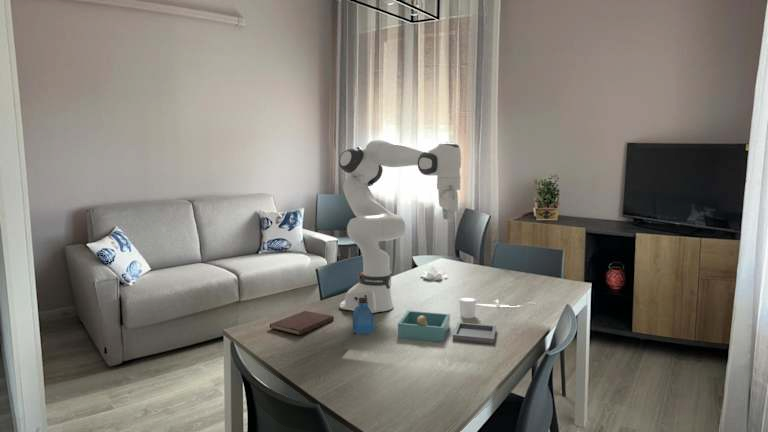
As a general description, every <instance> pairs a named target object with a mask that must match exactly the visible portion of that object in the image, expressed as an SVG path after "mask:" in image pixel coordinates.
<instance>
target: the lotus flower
mask: <svg viewBox="0 0 768 432" xmlns="http://www.w3.org/2000/svg"><path fill="white" fill-rule="evenodd" d="M422 271H423V274H424V275H423V274H420V276H421V277H422V279H423V280H429V281H433V282H435V281H441V280H442V279H443V280H445V279H446V278H447V277H448V275H449V274H445V272H446V271H445V269H443V268H441V269H440V271H437V268H436V267H435V266H434V265H431V266H430V267H429V268H428V271H425V270H422Z"/></svg>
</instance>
